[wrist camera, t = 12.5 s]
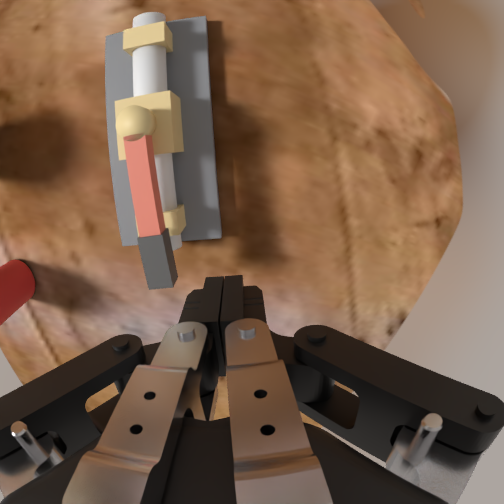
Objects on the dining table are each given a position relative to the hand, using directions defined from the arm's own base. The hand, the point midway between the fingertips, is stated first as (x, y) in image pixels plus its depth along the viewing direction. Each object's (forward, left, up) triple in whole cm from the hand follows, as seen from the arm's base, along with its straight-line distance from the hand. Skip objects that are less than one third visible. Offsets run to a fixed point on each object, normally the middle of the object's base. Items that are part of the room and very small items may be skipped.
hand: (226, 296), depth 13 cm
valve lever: (-2, -8, -16) cm, 18 cm away
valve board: (-9, -8, -24) cm, 27 cm away
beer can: (+8, -34, -24) cm, 42 cm away
